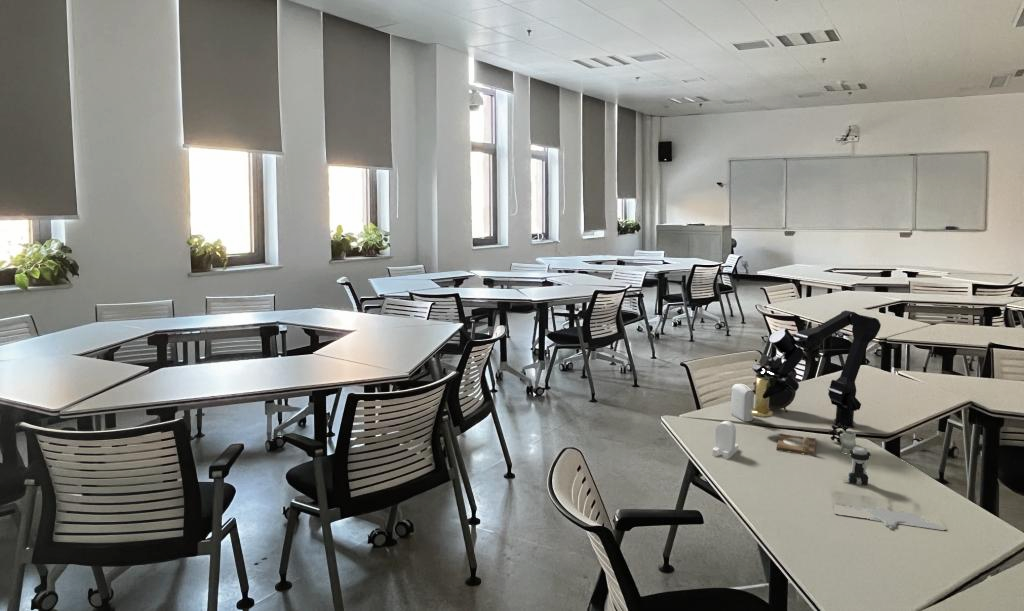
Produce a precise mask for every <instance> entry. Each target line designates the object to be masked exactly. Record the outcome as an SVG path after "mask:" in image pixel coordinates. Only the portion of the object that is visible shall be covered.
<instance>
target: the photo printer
mask: <svg viewBox="0 0 1024 611" xmlns="http://www.w3.org/2000/svg"><path fill="white" fill-rule="evenodd" d="M754 406H755V394H754V390H752V389H751V388H750V387H749V386H748V385H746V384H744V383H735V384H733V385H732V387H731V400H730V413H731V415H732V416H734V417H735V418H738V419H740V420H741V421H744V422H752V420H754V416H753V415H751V409H753V408H754Z"/></svg>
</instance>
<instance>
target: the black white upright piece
mask: <svg viewBox="0 0 1024 611" xmlns="http://www.w3.org/2000/svg"><path fill="white" fill-rule="evenodd" d="M850 454H851V455H850V458H851V459H852V461H851V470H850V472H848V475H845V476H842V478H843V479H842V481H845V482H846V481H847V482H848V483H849V484H851V483H853V485H864V486H868V485H869V476H868V474H867V462H868V461H869V460H870V457H871V455H872V453H871V452H870V451H868V449H867V448H865V447H862V446H855V447H854V448H853V449H852V450H850ZM844 478H845V479H844Z"/></svg>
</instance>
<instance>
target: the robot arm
mask: <svg viewBox="0 0 1024 611" xmlns="http://www.w3.org/2000/svg"><path fill="white" fill-rule="evenodd" d="M848 326H852V328H851V332H852V336H853V340H852V342H851V345H850V348H849V351H848V354H847V357H846V360H845V362H844V365H843V366H842V370H841V373H840V376H839V377H838V378H837V379H836V380H835V379H832V380H831V381H830V385H829V387H828V389H827V391H828V396H829V399H830V402H831V405H834V406H836V409H835V410H836V411H835V418H834V419H833V420H834V421H833V425H835V426H838V423H841V424H842V425H843V426H842V427H844V426H847V427H849V426H853V427H852V428H855V420H854V415H855V412H857V411H860V409H861V406H862V403H861V402H860V401H859V400H858V399H857V397H856V395H857V386H856V380H857V376H858V374H859V371H860V369H861V366H862V363H863V359H864V357H865V354H866V351H867V350H868V346H869V344H870V342H872V341H873V340H874V339H876V338H877V336H878V334H879V331H880V330H881V326H882V325H881V322H880V320H879V319H878V318H875V317H872V316H868V315H862V314H858V313H857V312H854V311H850V310H843V311H841V312H840V313H839V314H837V315H835V316H833V317H832V318H830V319H828V320H827V321H824V322H822V323H821V324H819V325H817V326H815V327H810V328H805V329H802V330H799V331H797V332H796V333H795V334H791V332H790V331H789V330H788V328H785V327H782V328H781V329H779V330H776V331H775V332H773V333H771V334H770V336H769V340H768V341H769V342H770V343H771V344H772V346H773V347H774V348H775V349H776V350H777V351H778V353H780V354H781V353H782V355H781V356H780V357H779V356H774V357H772V356H769V355H766V354H762V355H761V357H760V359H759V361H758V363H754V364H753V366H752V367H751V370H753V372H754V373H756V375H757V378H758V377H766V378H769V379H770V378H772V384H771V383H770V386H769V388H768V389H767V390H766V392H765V393H764V395H763V396H762V397H763V398H764V399H765V398H768V397H770V396H772V395H775V394H777V393H780V392H783V391H787V389H786V388H787V387H788V386H789V389H790V390H791V391H794V392H796V393H797V391H798V389H799V388H800V384H799V382H797V380H796V378H795V379H794V378H793V377H792V376H790V375H789V374H790V373H791V372H793V373H794V372H795V371H796V372H797V370H796V368H797V366H798V365H799V364H800V362H801V361H802V360H804V361H807V362H808V361H809V360H810V358H809V352H807V351H804V350H803V349H805V350H808V351H814V350H816V349H818V348H819V347H820V346H821V345H822V344H823V343H824V340H826V339H827V338H829V337H830V336H832V335H834V334H835V333H838V332H839V331H841V330H842V329H845V328H846V327H848ZM761 363H762V364H764V365H767V368H768V369H769V370H770V372H769V370H768V369H767V368H766V367H765V366H763V365H761ZM753 393H754V396H756V388H755V390H753Z"/></svg>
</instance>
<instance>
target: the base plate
mask: <svg viewBox="0 0 1024 611" xmlns="http://www.w3.org/2000/svg"><path fill="white" fill-rule="evenodd" d="M815 449H816V438H815V437H809V436H801V435H799V436H798V435H791V434H785V433H780V434H779V436H778V441H777V445H776V449H775V450H776V451H779V450H782V451H781V452H787V451H790V452H789V453H794V452H796V453H795V454H801V453H804V454H803V455H808V454H809V455H810V456H815Z"/></svg>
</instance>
